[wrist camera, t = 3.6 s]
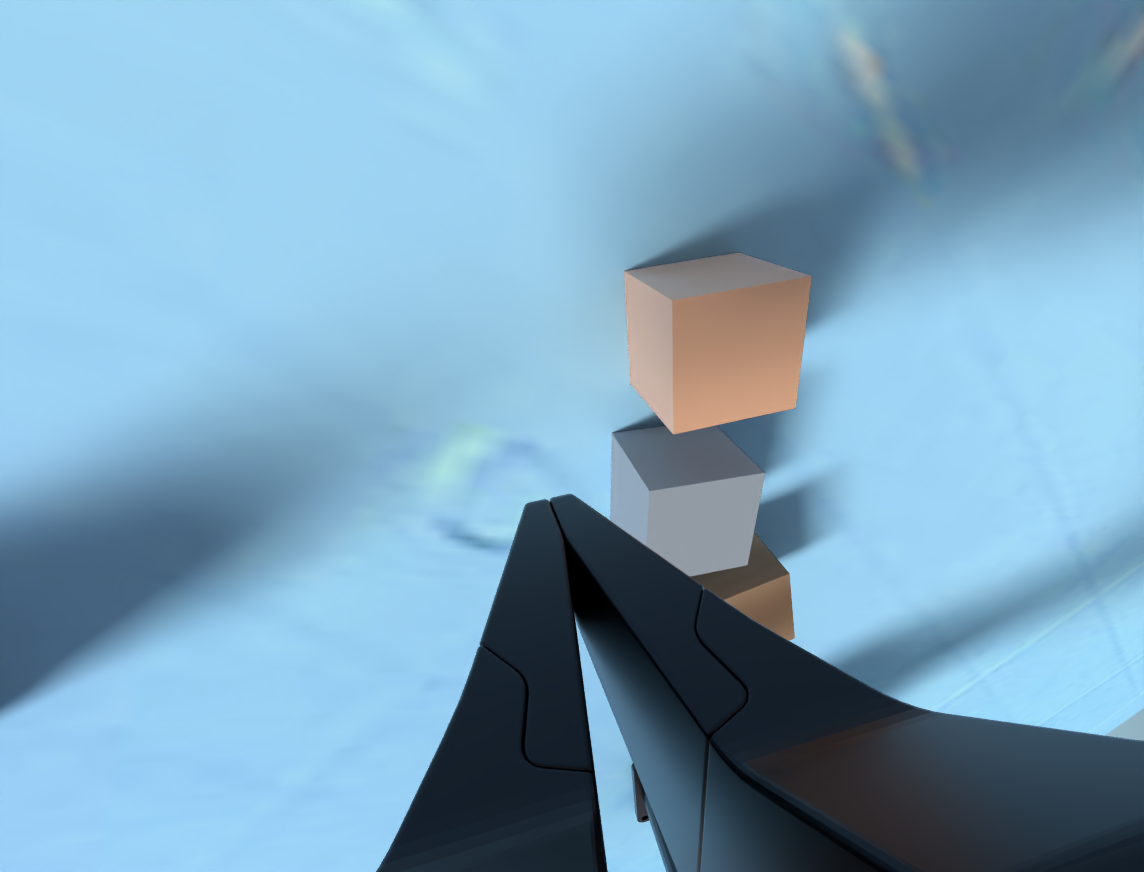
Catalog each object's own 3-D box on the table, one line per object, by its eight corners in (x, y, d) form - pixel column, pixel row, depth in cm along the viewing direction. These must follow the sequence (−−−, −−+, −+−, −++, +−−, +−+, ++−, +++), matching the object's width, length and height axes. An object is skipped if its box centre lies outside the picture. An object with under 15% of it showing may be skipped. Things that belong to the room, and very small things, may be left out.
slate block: (699, 501, 22) (747, 565, 19) (609, 516, 21) (643, 585, 18) (709, 418, 20) (765, 472, 17) (611, 432, 20) (649, 490, 16)
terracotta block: (731, 363, 19) (795, 408, 16) (629, 383, 19) (673, 434, 15) (737, 252, 17) (811, 276, 14) (623, 270, 17) (672, 300, 13)
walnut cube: (745, 572, 25) (794, 638, 22) (669, 602, 25) (706, 674, 21) (736, 511, 23) (789, 573, 20) (653, 543, 23) (691, 612, 19)
